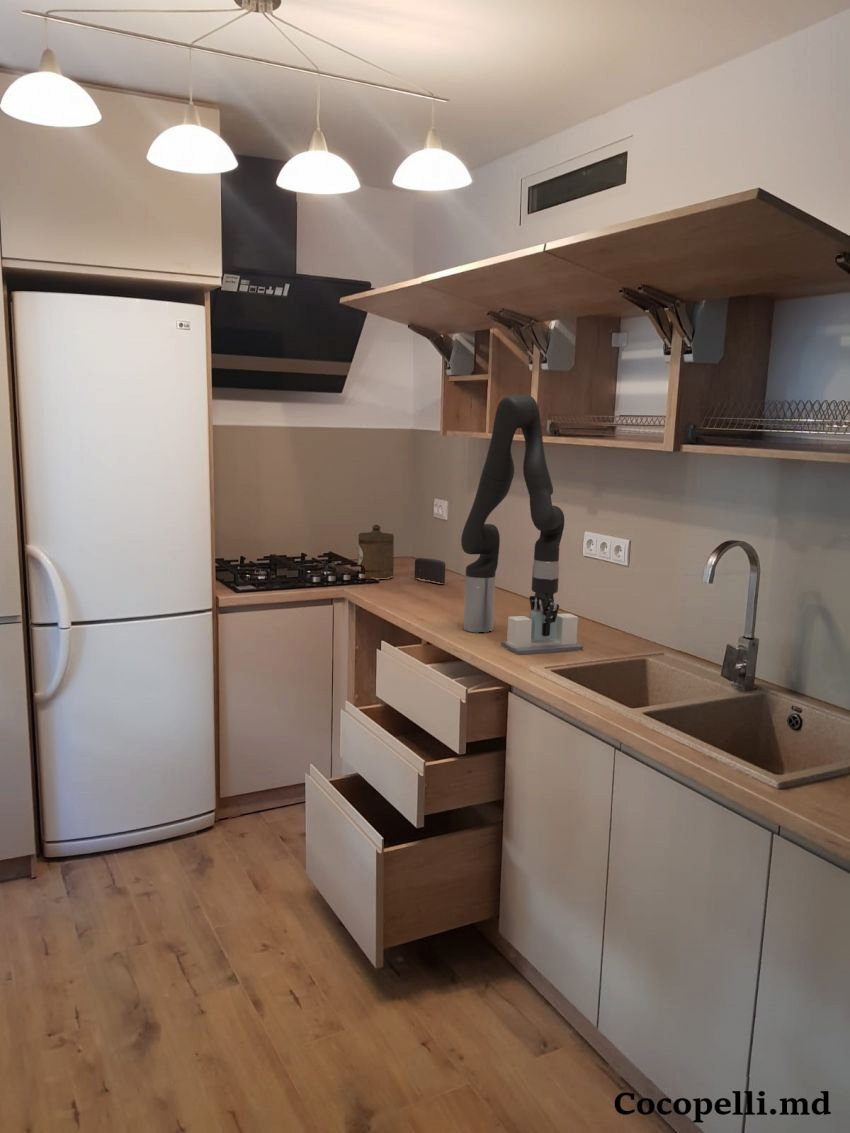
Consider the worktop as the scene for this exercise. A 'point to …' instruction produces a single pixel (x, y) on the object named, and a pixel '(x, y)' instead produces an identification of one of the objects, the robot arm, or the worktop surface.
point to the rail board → (523, 643)
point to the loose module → (537, 626)
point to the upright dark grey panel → (430, 569)
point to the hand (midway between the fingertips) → (542, 633)
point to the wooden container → (376, 553)
